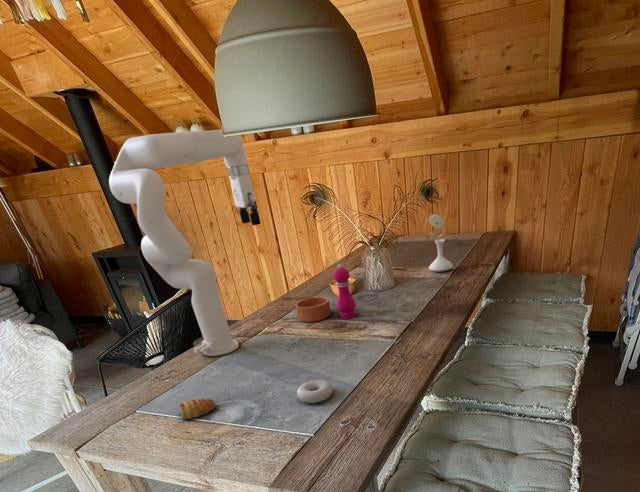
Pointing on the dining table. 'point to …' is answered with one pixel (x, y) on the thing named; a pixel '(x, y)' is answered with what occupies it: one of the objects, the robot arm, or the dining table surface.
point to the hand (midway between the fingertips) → (251, 223)
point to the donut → (314, 391)
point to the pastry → (196, 407)
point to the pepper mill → (344, 293)
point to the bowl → (313, 309)
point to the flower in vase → (439, 246)
